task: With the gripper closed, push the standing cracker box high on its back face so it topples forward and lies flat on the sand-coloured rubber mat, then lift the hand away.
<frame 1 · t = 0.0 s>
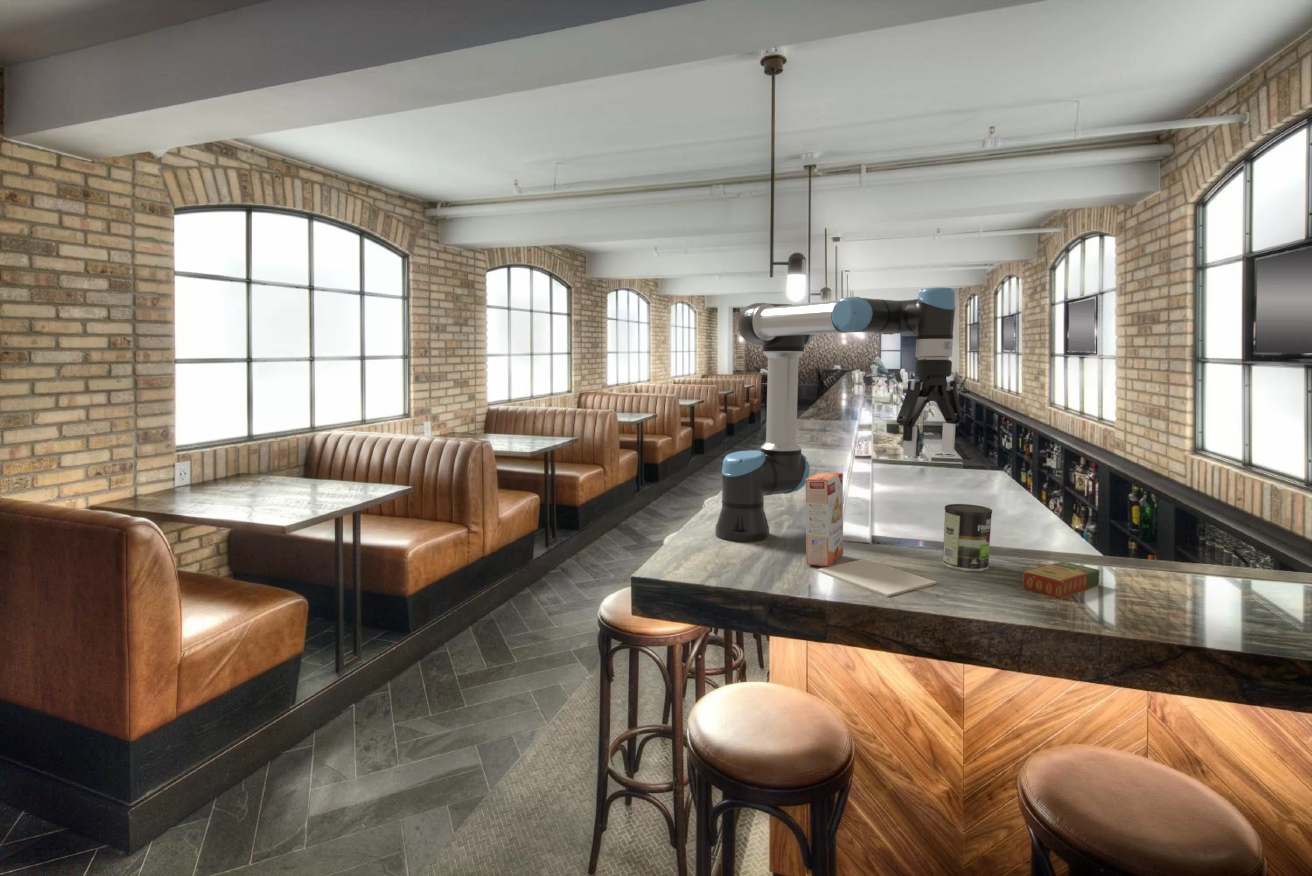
hand: (928, 453, 151), 28 cm above the countertop, fingers open, 13 cm apart
carton: (1060, 589, 145), on the countertop
coffee can: (964, 566, 161), on the countertop
cracker box: (826, 560, 164), on the countertop, touching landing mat
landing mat: (875, 577, 151), on the countertop
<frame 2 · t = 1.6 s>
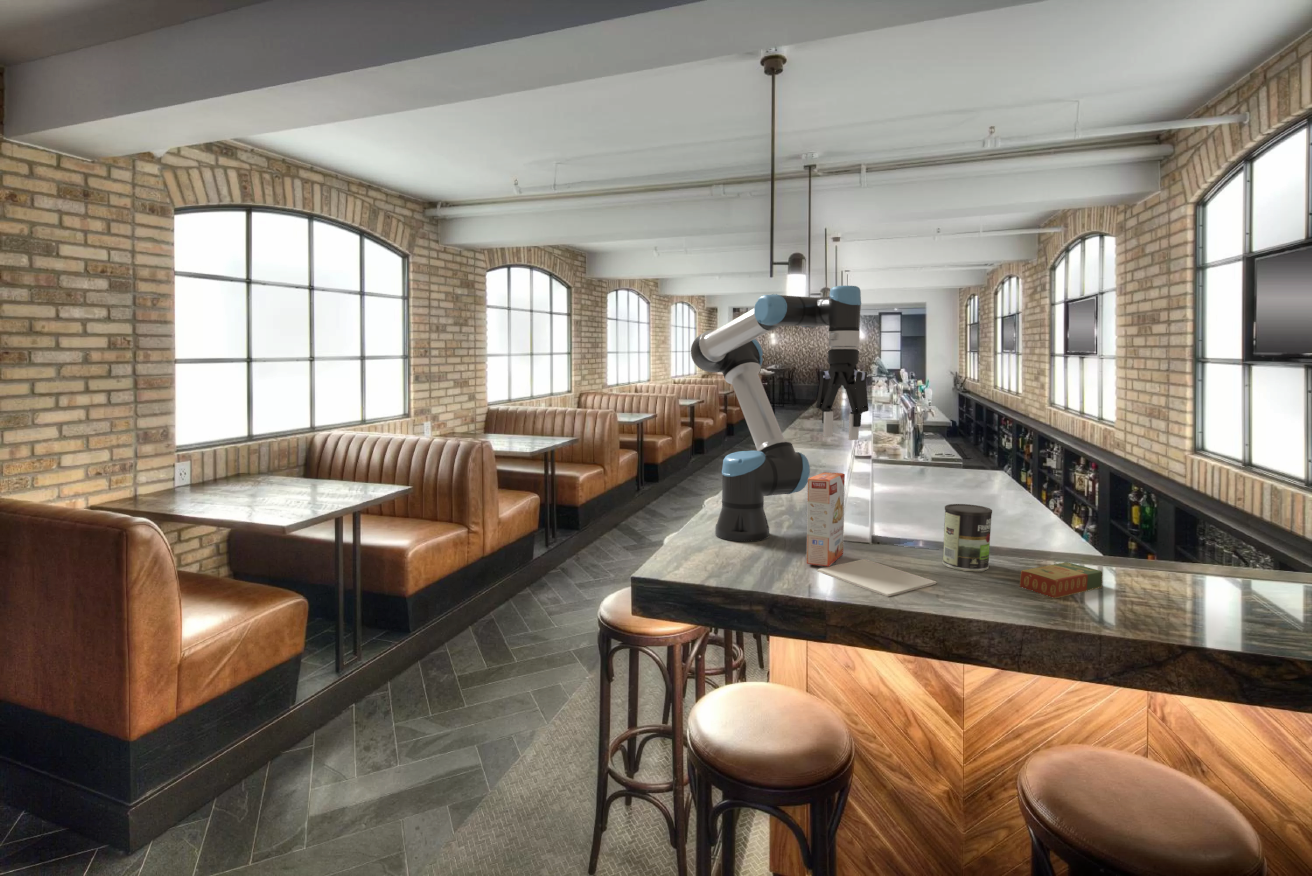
hand: (840, 438, 171), 29 cm above the countertop, fingers open, 8 cm apart
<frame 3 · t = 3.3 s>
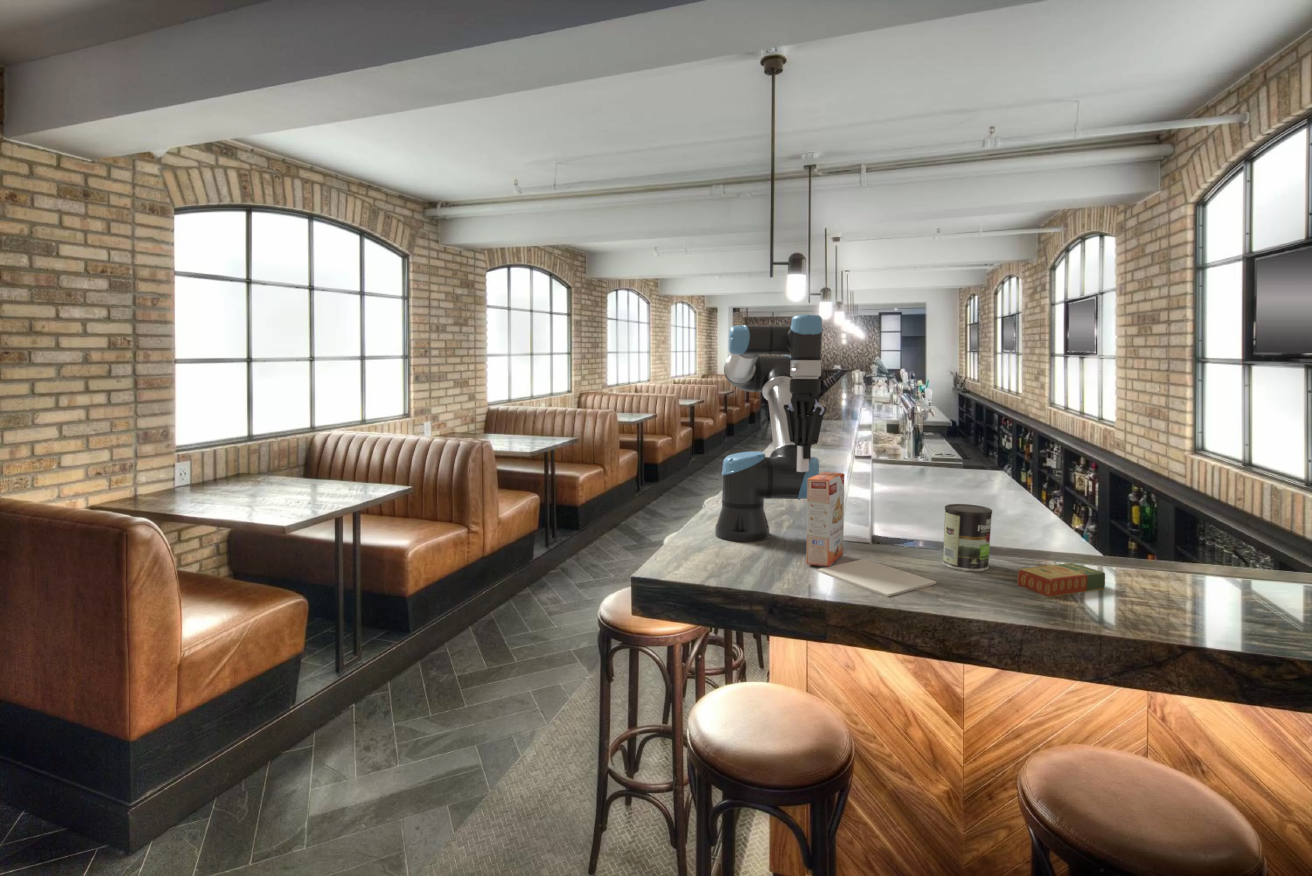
hand: (802, 471, 169), 21 cm above the countertop, fingers closed
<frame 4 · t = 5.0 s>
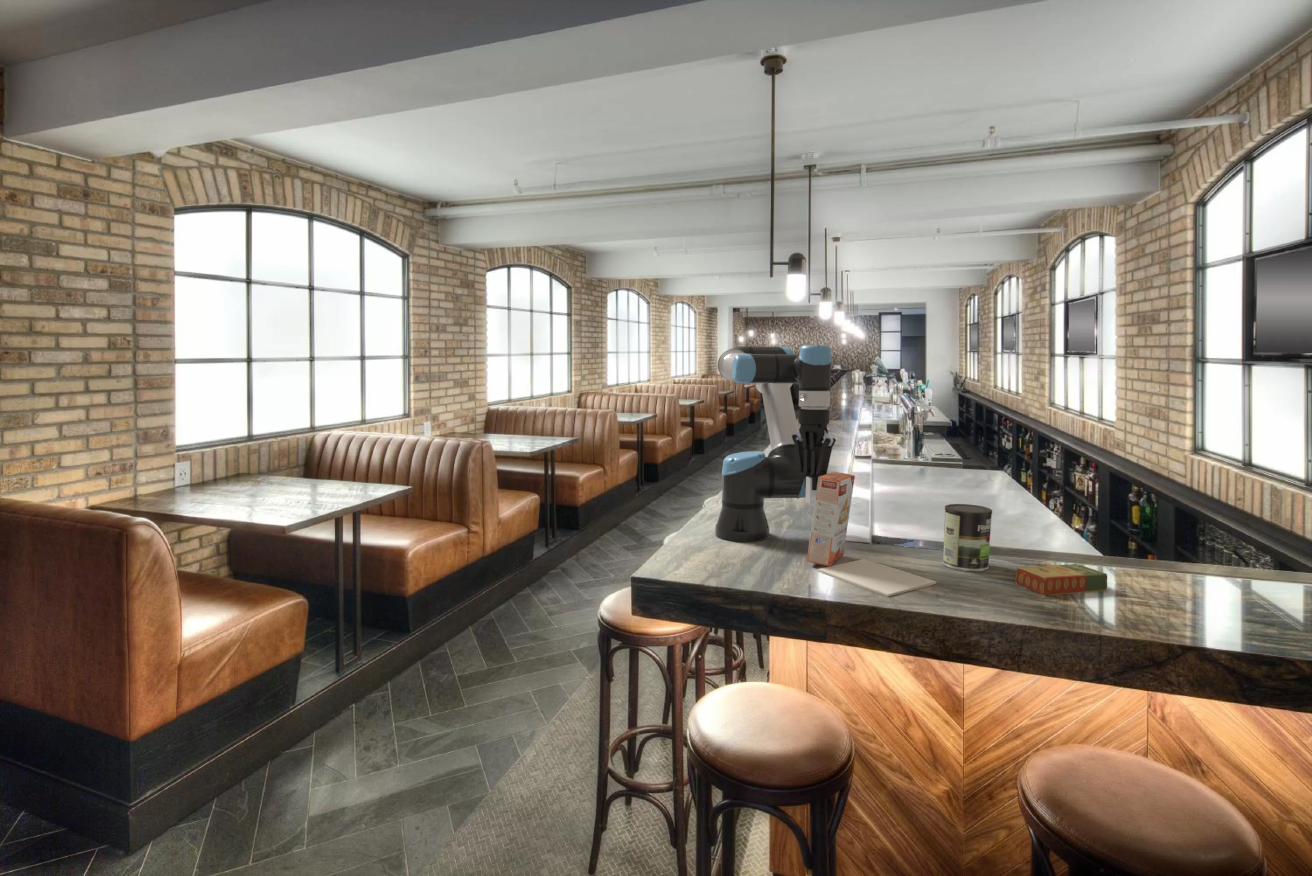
hand: (811, 502, 167), 14 cm above the countertop, fingers closed
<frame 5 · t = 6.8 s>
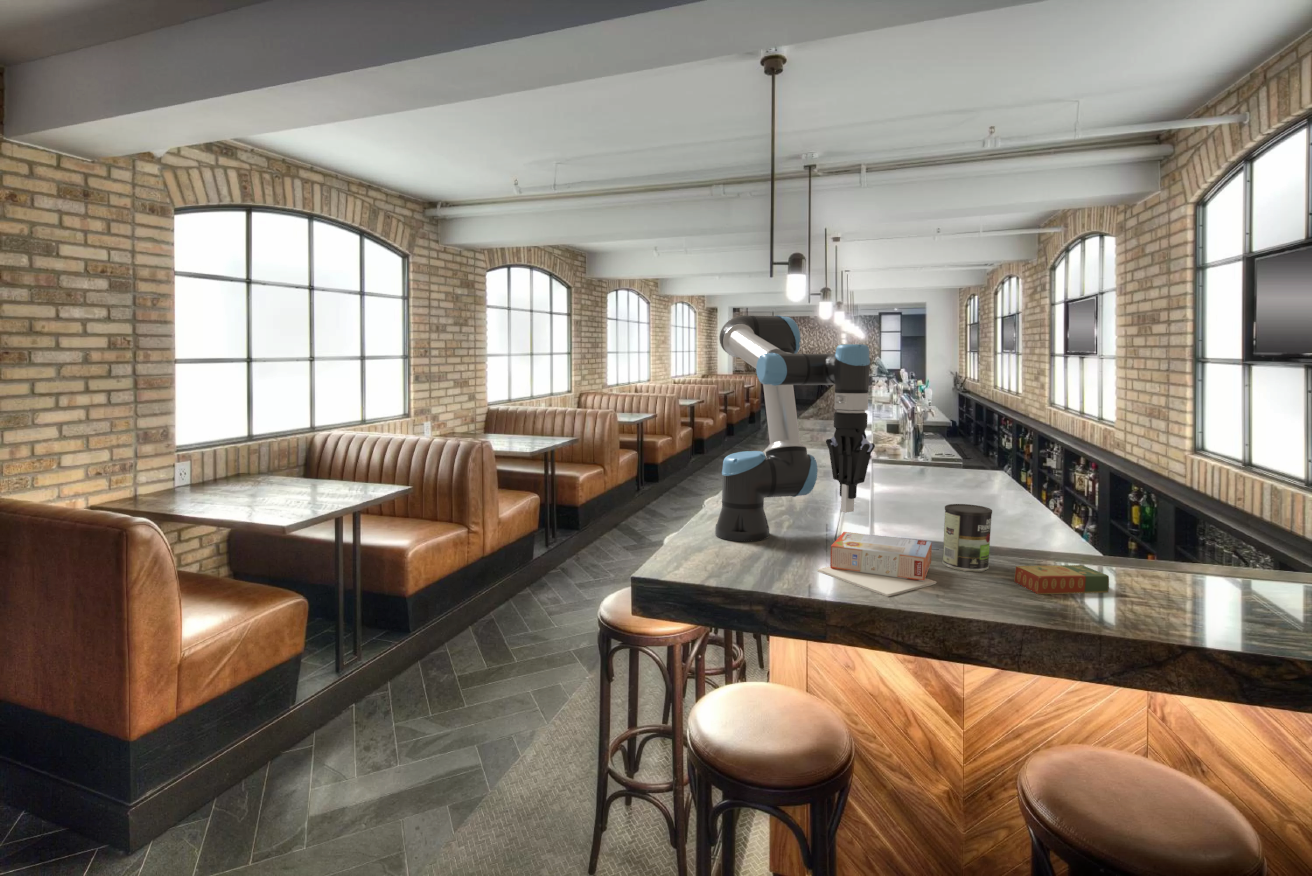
hand: (847, 511, 157), 14 cm above the countertop, fingers closed
cracker box: (835, 549, 162), point 3 cm above the countertop, touching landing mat
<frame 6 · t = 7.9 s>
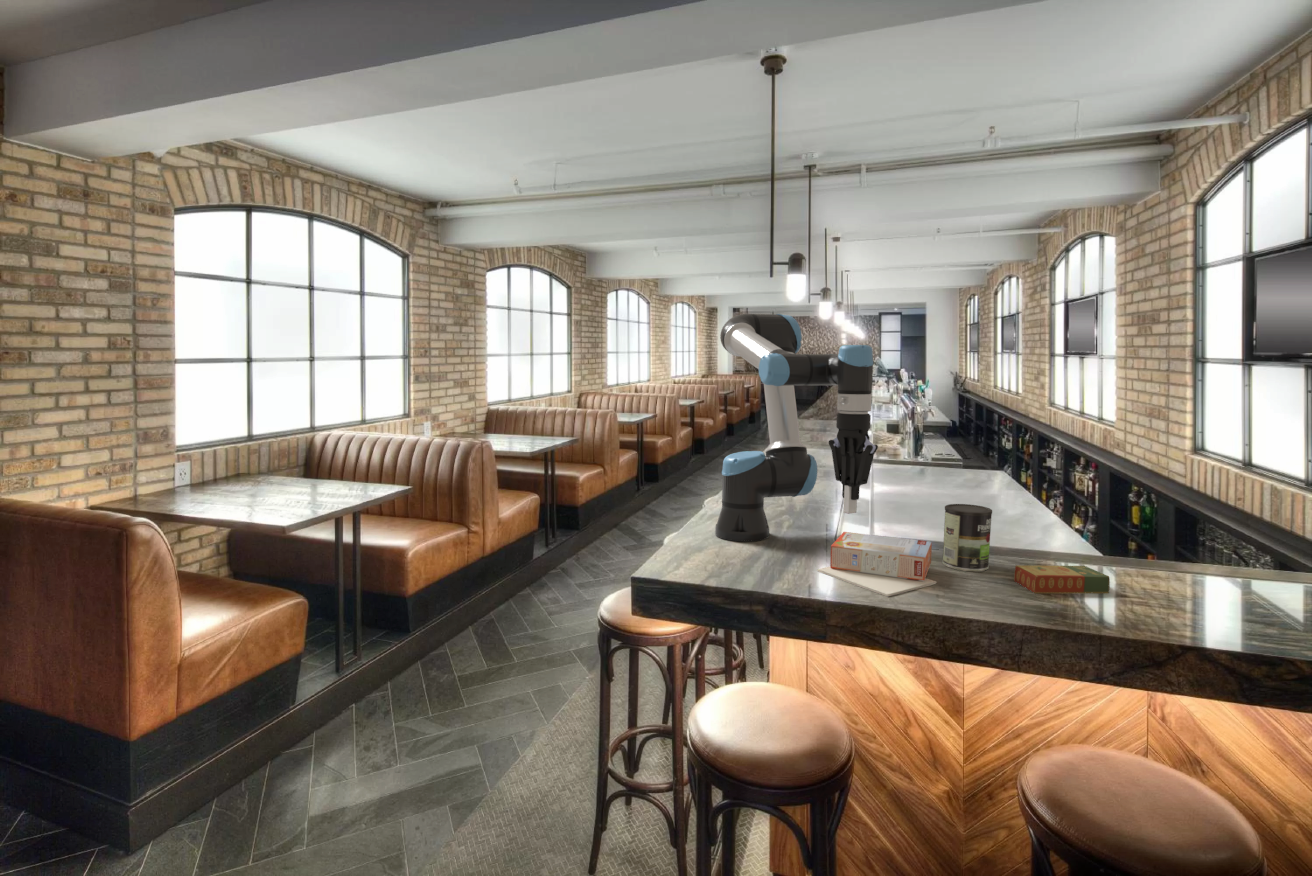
hand: (850, 512, 157), 13 cm above the countertop, fingers closed
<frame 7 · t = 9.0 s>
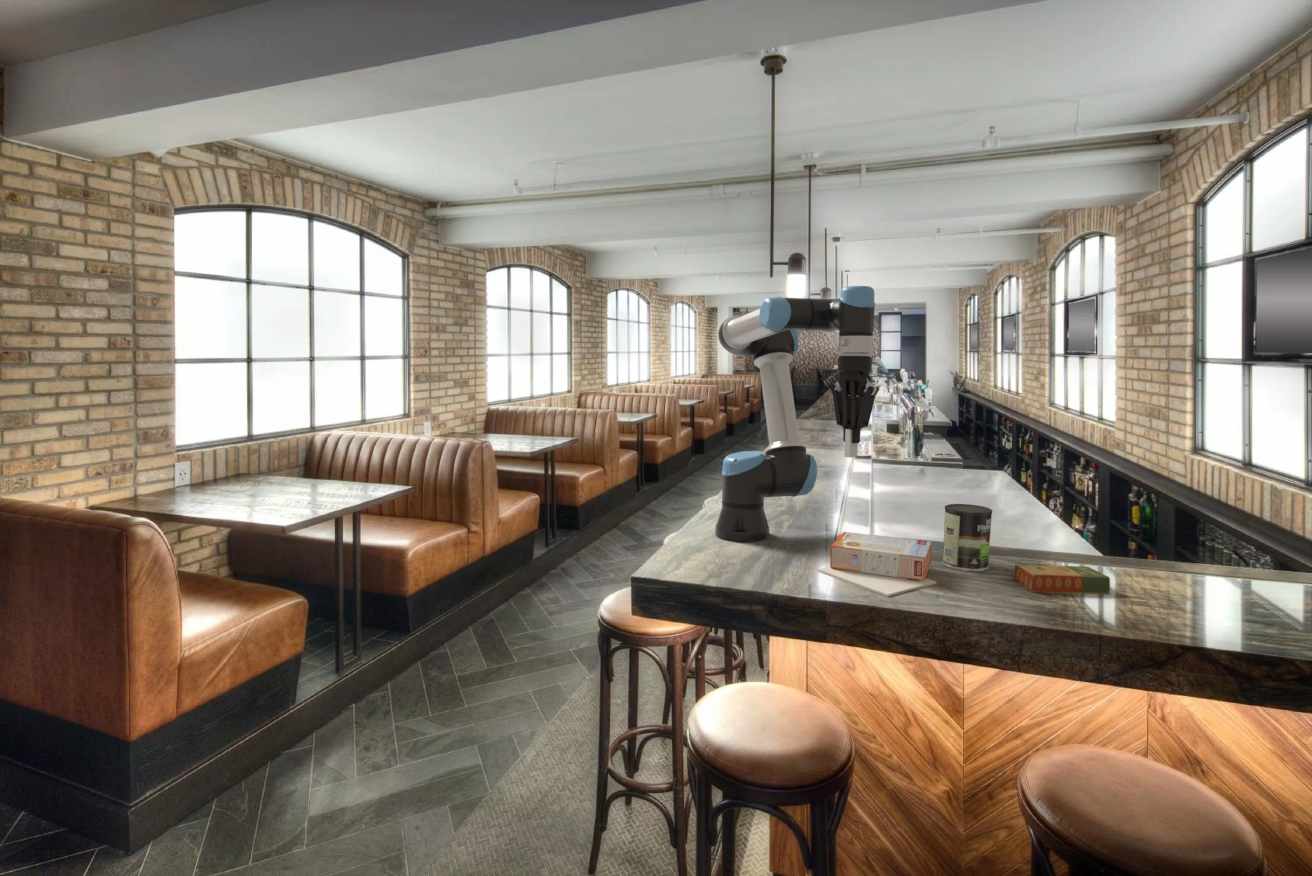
hand: (850, 456, 156), 27 cm above the countertop, fingers closed
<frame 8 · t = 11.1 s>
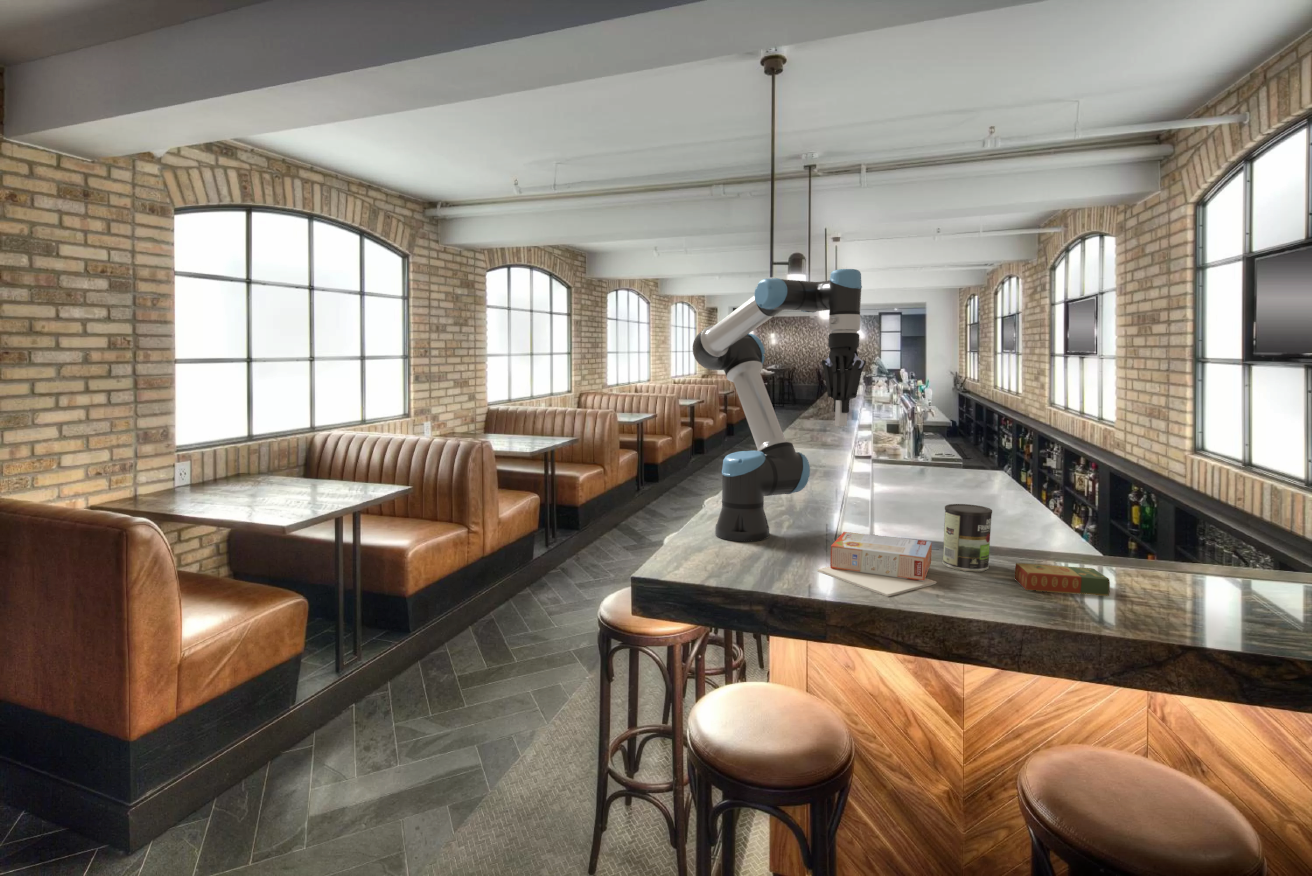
hand: (840, 425, 171), 32 cm above the countertop, fingers closed
at the end: cracker box tilted 89°; cracker box inside the target area (4.6 cm from its centre), point 3.3 cm above the countertop; cracker box touching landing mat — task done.
